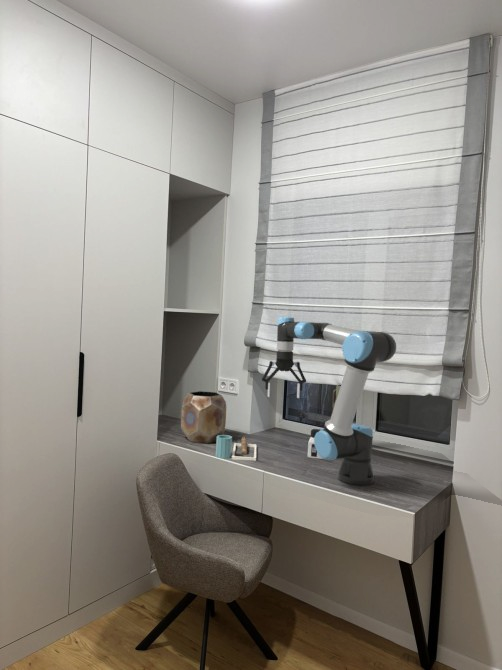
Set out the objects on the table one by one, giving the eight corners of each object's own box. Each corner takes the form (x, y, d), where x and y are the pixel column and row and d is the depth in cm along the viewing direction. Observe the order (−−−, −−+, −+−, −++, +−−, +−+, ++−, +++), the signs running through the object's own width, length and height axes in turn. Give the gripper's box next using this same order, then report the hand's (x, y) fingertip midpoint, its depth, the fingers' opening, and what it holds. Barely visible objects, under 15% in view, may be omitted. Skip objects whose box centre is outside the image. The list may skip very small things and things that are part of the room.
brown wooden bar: (247, 450, 240) (246, 430, 258) (241, 450, 240) (241, 430, 258) (246, 461, 242) (246, 440, 260) (241, 461, 242) (241, 440, 260)
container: (323, 459, 244) (325, 432, 244) (307, 457, 246) (309, 430, 245) (324, 455, 252) (326, 428, 251) (308, 453, 254) (310, 427, 253)
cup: (230, 461, 233) (231, 439, 233) (214, 460, 233) (216, 438, 233) (231, 456, 240) (232, 435, 240) (216, 455, 240) (217, 434, 240)
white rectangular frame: (255, 462, 232) (256, 458, 232) (231, 461, 233) (231, 456, 232) (256, 448, 256) (256, 444, 256) (234, 447, 257) (234, 443, 256)
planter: (174, 434, 275) (176, 390, 274) (217, 433, 285) (220, 390, 284) (186, 445, 255) (188, 398, 254) (232, 443, 264) (234, 397, 263)
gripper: (311, 351, 240) (309, 396, 240) (257, 349, 239) (255, 395, 240) (313, 352, 233) (311, 399, 233) (258, 350, 232) (256, 397, 232)
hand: (283, 397), depth 236 cm, fingers open, 13 cm apart
